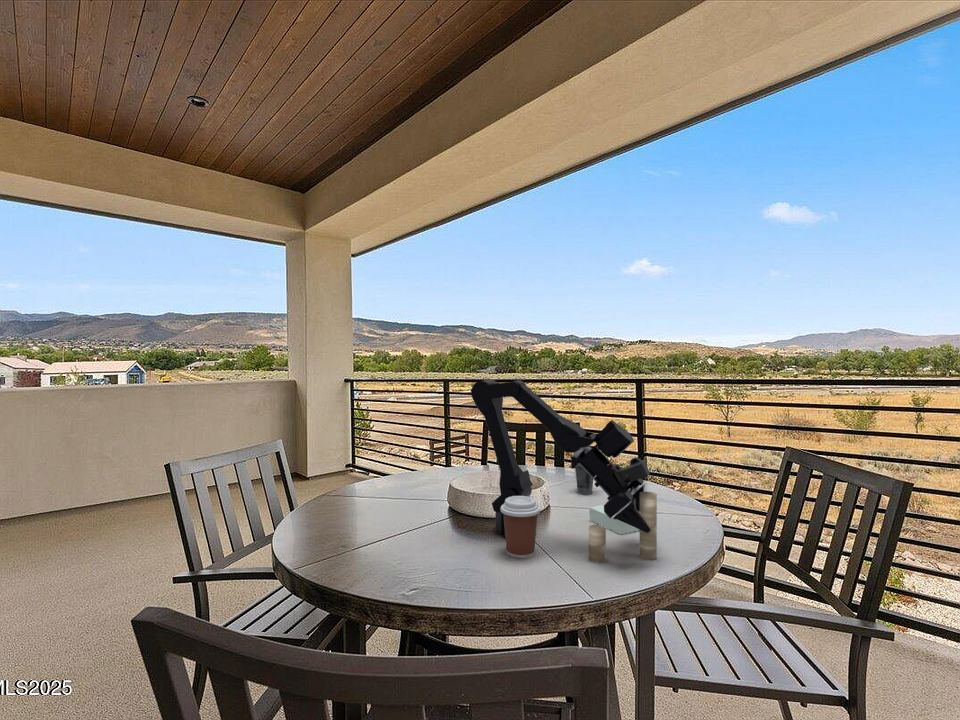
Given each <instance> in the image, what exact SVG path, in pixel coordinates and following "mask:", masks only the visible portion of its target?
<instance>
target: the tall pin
mask: <svg viewBox="0 0 960 720" xmlns="http://www.w3.org/2000/svg"><path fill="white" fill-rule="evenodd" d="M657 495H658V494H657V493H656V492H652V491H644V492H640V514H641V516H642V517H643V519H644V520H645V521H646V523H647V524H648V526H649V527H650V529H651V531H650V532H649V533H646V532H644V531H641V530H640V531H639V557H640V558H642V559H644V560H649V561H654V560H656V559H657V557H658V552H657V550H658V548H657V547H658V542H657V541H658V538H657V537H658V536H657V535H658V533H657V532H658V531H657V530H658V527H657V525H658V517H657V516H658V515H657V514H658V505H657V502H658V499H657V498H658V496H657Z"/></svg>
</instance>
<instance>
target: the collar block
mask: <svg viewBox="0 0 960 720" xmlns="http://www.w3.org/2000/svg"><path fill="white" fill-rule="evenodd" d="M604 505H605V504H603V505H597V506H592V507H589V521H590V520H591V521H590V522H592V521H593V522H592V523H594V522H595V523H594V524H596V523H597V524H596V525H598V524H600V525H602V526H604V527H606V529H607V528H608V529H607V530H609V529H611V530H612V532H614V533H616V532H617V533H616V534H618V533H619V534H618V535H620V534H622V535H625V533H627V534H631V533H635V532H634V531H636V532H639V531H638V530H639V529H637V528H635V527H633V526H631V525H629V524H626V523H624V522H622V521H619V520H617V519H613V517H614V516H615V515H616V514H617V513H616V514H615V515H614V516H613V517H612V518H609V517H608V516H607V515H606V513H605V512H604ZM638 512H639V511H638ZM639 513H640V512H639ZM611 530H610V531H611ZM630 532H631V533H630Z"/></svg>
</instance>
